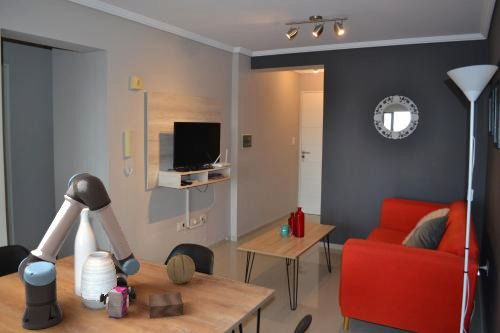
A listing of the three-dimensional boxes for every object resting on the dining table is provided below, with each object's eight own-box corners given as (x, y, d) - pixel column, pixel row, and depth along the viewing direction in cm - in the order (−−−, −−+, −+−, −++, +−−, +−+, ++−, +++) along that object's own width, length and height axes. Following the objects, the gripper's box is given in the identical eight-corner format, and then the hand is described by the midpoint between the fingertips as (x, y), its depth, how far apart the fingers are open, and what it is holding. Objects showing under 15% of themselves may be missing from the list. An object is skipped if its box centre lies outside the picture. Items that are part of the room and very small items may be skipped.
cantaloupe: (182, 290, 207) (182, 260, 205) (160, 284, 214) (160, 255, 213) (201, 280, 219) (201, 253, 218) (179, 275, 227) (179, 248, 225)
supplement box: (121, 318, 177) (120, 292, 176) (108, 317, 178) (107, 291, 177) (127, 312, 182) (127, 287, 181) (115, 311, 184) (114, 286, 182)
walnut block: (149, 318, 177) (149, 307, 177) (148, 306, 189) (148, 295, 188) (183, 314, 181) (183, 303, 181) (180, 303, 193) (180, 292, 192)
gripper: (141, 290, 200) (142, 311, 178) (96, 294, 194) (91, 316, 173) (141, 274, 199) (142, 294, 177) (95, 278, 194) (90, 299, 172)
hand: (117, 305), depth 175 cm, fingers open, 8 cm apart
